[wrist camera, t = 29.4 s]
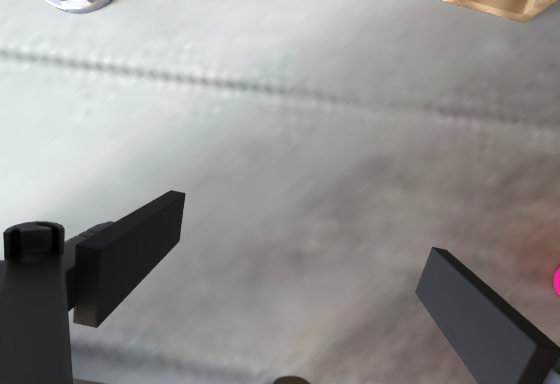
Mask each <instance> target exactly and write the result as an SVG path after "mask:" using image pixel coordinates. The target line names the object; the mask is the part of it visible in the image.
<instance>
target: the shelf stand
mask: <svg viewBox="0 0 560 384" xmlns="http://www.w3.org/2000/svg"><path fill="white" fill-rule="evenodd" d="M441 1H445V2H449V3H453V4H456V5H460V6H464V7H467V8H471V9H475V10H479V11H482V12H486V13H490V14H493V15H497V16H501V17H505V18H508V19H512V20H516V21H519V22H523V23H525V22H526V21H528V20H529V19H531V18H532V17H533V16H535V15H536V14H538V13H539V12H541V11H542V10H544V9H545V8H547V7H548V6H550V5H551V4H553V3H554V2H555V1H557V0H441Z"/></svg>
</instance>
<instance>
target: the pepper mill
mask: <svg viewBox="0 0 560 384" xmlns="http://www.w3.org/2000/svg"><path fill="white" fill-rule="evenodd" d="M553 284H554V288H555V290H556V292H557V294H558V295H559V296H560V266H559V267H558V269H557V270H556V272H555V274H554V280H553Z"/></svg>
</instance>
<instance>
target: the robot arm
mask: <svg viewBox="0 0 560 384" xmlns="http://www.w3.org/2000/svg"><path fill="white" fill-rule="evenodd" d="M46 1H47V2H49V3H50V4H52V5H53V6H55V7H57V8H58V9H61V10H63V11H66V12H70V13H88V12H92V11H95V10H98V9H100V8H102V7H103V6H105V5H106V4H108V3H109V2H110V1H111V0H46ZM184 201H185V193H182V192H177V191H172V190H171V191H169V192H167V193H165V194H164V195H162V196H160V197H158V198H157V199H155V200H153V201H151V202H150V203H148V204H146V205H144V206H143V207H141V208H139V209H137V210H136V211H134V212H132V213H130V214H129V215H127V216H125V217H123V218H122V219H120V220H118V221H116V222H111V221H110V222H106V223H102V224H98V225H96V226H94V227H92V228H90V229H88V230H87V231H84V232H82V233H81V234H79V235H78V236H75V237H73V238H71V239H69V240H67V241H65V242H64V234H65V229H64V227H63V226H62V225H60V224H57V223H53V222H40V221H36V222H27V223H22V224H18V225H14V226H12V227H10V228H8V229H6V230H5V232H4V233H3V236H4V258H5V260H4V261H3V260H0V384H73V377H72V362H71V347H70V332H69V317H68V312H69V311H70V310H71V309H72V308H73V307H74V319H73V323H77V324H81V325H86V326H91V327H95V328H97V327H98V326H99V325H100V324H101V323H102V322H103V321H104V320H105V319H106V318H107V317H108V316H109V315H110V314H111V313H112V312H113V310H114V309H115V308H116V307H117V306H118V305H119V304H120V303H121V302H122V301H123V300H124V299H125V298H126V297H127V296H128V295H129V294H130V293H131V292H132V290H133V289H134V288H135V287H136V286H137V285H138V284H139V283H140V282H141V281H142V280H143V279H144V278H145V277H146V276H147V275H148V274H149V273H150V272H151V271H152V269H153V268H154V267H155V266H156V265H157V264H158V263H159V262H160V261H161V260H162V259H163V258H164V257H165V256H166V255H167V254H168V253H169V252H170V251H171V249H172V248H173V247H174V246H175V245H176V244H177V243H178V242H179V240H180V232H181V224H182V217H183V209H184ZM415 293H416V294H417V296H418V297H419V299H420V300H421V302H422V303H423V304H424V306H425V307H426V309H427V310H428V312H429V313H430V315H431V316H432V318H433V319H434V320H435V322H436V323H437V325H438V326H439V328H440V329H441V331H442V332H443V333H444V335H445V336H446V338H447V339H448V341H449V342H450V344H451V345H452V346H453V348H454V349H455V351H456V352H457V354H458V355H459V357H460V358H461V359H462V361H463V362H464V364H465V365H466V367H467V368H468V370H469V371H470V372H471V374H472V375H473V377H474V378H475V380H476V381H477V383H478V384H560V347H558V346H557V345H556V344H555V343H554V342H553V341H551V340H550V339H549V338H548V337H547V336H546V335H545V334H543V333H542V332H541V331H540V330H539V329H538V328H536V327H535V326H534V325H533V324H532V323H531V322H529V321H528V320H527V319H526V318H525V317H524V316H523V315H521V314H520V313H519V312H518V311H517V310H516V309H514V308H513V307H512V306H511V305H510V304H509V303H507V302H506V301H505V300H504V299H503V298H502V297H501V296H499V295H498V294H497V293H496V292H495V291H494V290H492V289H491V288H490V287H489V286H488V285H487V284H485V283H484V282H483V281H482V280H481V279H480V278H479V277H477V276H476V275H475V274H474V273H473V272H472V271H470V270H469V269H468V268H467V267H466V266H465V265H463V264H462V263H461V262H460V261H459V260H458V259H457V258H455V257H454V256H453V255H452V254H451V253H450V252H448V251H447V250H444V249H440V248H435V247H432V249H431V252H430V254H429V257H428V260H427V262H426V265H425V267H424V270H423V273H422V275H421V278H420V281H419V283H418V286H417V289H416V291H415Z"/></svg>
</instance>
